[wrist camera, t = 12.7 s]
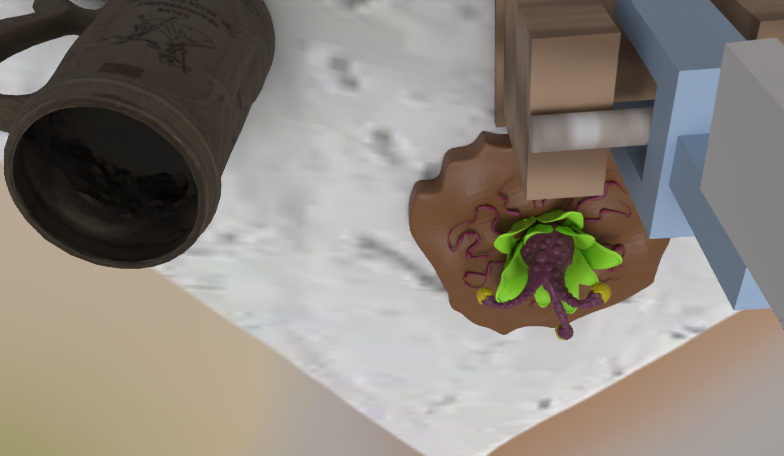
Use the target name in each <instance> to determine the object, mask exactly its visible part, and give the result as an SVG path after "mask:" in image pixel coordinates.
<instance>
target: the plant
mask: <svg viewBox="0 0 784 456" xmlns="http://www.w3.org/2000/svg"><path fill="white" fill-rule="evenodd" d="M409 226H410V231H411V234H412V236H413V238H414V240H415V241H416V243H417V245H418V246H419V247H420V249H421V250H422V252H423V253H424V254H425V256H426V257H427V258H428V260H429V261H430V263H431V264H432V266H433V267H434V269H435V271H436V273H437V274H438V276H439V278H440V280H441V282H442V284H443V285H444V287H445V289H446V291H447V292H448V296H449V303H450V305H451V307H452V308H453V309H454V310H455V311H458V312H460V313H462V314H463V315H464V316H465V317H466V318H467V319H469V320H470V321H471V322H473V323H475V324H477V325H480V326H483V327H487V328H490V329H492V330H494V331H496V332H498V333H500V334H502V335H505V334H508V333H509V332H511V331H513V330H515V329H518V328H521V327H526V326H544V327H550V328H555V332H556V335H557V337H558V338H559V339H562V340H568V339H570V338H571V337H572V336H573V333H574V332H573V328H572V327H571V325H569V323H570V322H572V321H574V320H576V319H578V318H580V317H583V316H585V315H587V314H590V313H592V312H595V311H598V310H601V309H604V308H607V307H609V306H612V305H614V304H617V303H619V302H621V301H624V300H626V299H627V298H629V297H631V296H633V295H634V294H636V293H638V292H639V291H641V290H643V289H644V288H646V287H648V286H649V285H651V284H652V283H653V282H654V279H655V275H656V272H657V269H658V265H659V262H660V260H661V258H662V255H663V253H664V251H665V250H666V248H667V246H668V244H669V241H670V238H657V239H649V237H648V235H647V232H646V230H645V228H644V226H643V223H642V221H641V219H640V217H639V214H638V212H637V210H636V208H635V205H634V203H633V201H632V199H631V196H630V194H629V192H628V190H627V187H626V185H625V183H624V181H623V178H622V176H621V174H620V172H619V169H618V167H617V165H616V163H615V160H614V158H613V156H612V154H611V151H610V149H609V148H608V155H607V164H606V173H605V182H604V191H603V195H599V196H584V197H569V198H554V199H539V200H526V196H525V193H524V189H523V185H522V182H521V178H520V174H519V171H518V167H517V163H516V159H515V156H514V152H513V148H512V145H511V141H510V137H509V134H493V133H489V132H485V131H483V132H481V134H480V135H479V137H478V138H477V139H476V140H475V141H474V142H473V143H472V144H470V145H467V146H463V147H457V148H452V149H450V150H448V151H447V152H446V154H445V156H444V158H443V162H442V168H441V172H440V174H439V176H438V177H437V178H435V179H432V180H420V181H418V182H416V183H415V185H414V188H413V191H412V193H411V197H410V202H409Z"/></svg>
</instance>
